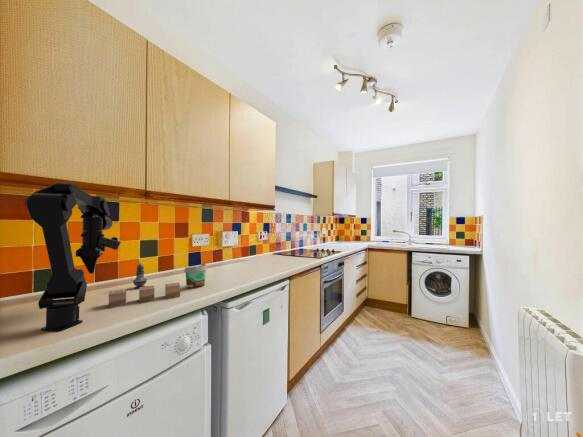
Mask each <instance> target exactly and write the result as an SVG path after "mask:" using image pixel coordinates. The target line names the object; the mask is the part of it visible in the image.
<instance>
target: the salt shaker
mask: <svg viewBox="0 0 583 437" xmlns="http://www.w3.org/2000/svg"><path fill="white" fill-rule="evenodd" d="M144 266H145V265H144V264H142V263H141V262H139V264H137V265H136V272H135V273H136V277H135V279H133V280H132V282H133V285H134V287H133V288H132V290H139V287H146V284H147V281H148V279H147V278H145V276H144V275H145V274H144V273H145V270H144Z"/></svg>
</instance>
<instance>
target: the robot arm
mask: <svg viewBox="0 0 583 437" xmlns="http://www.w3.org/2000/svg"><path fill="white" fill-rule="evenodd" d="M24 204H25V209H26V210H27V212H28V214H29V218H30V219H31V220H32V221H33V222H35V223H36V224H38V226H39V227H41V229H42V234H43V239H44V245H45V247H46V248H45V249H46V253H47V257H48V261H49V265H50V271H51V276H50V277H49V279H48V280H47V282H46V284H45V286H46V288H45V290H44V291H43V293H42V294H41V297H40V298H39V299H38V300H39V301H38V309H39V310H43V309H46V310H45V315H46V316H45V326H44V327H43V326H42V327H41V328H40V331H55V332H61V331H64V330H67V329H68V328H71V327H74V326H76V325H78V324H79V325H80V323H83V319H80V304H82V303H83V302H85V298H86V293H87V288H88V283H87V281H86V277H85V272H84V270H83V269H77V268H76V267H75V262H74V258H73V257H74V256H73V252H72V251H73V250H72V246H71V240H70V236H69V230H68V225H67V223H68V221H69V220H70V218H71V217H72V215H73V209H74V208H75V207H76V205H77V209H78V210H79V211H80V213H81V215H80V218H81V220H82V222H81V224H82V225H81V229H82V230H81V233H80V237H81V245H80V247H79V248H78V249H76V251H75V257H76V258H77V257H79V258H80V259H81V261H82V263H83V264H84V267H86V270H87V272H88V273H89V274H91V275H93V274H95V270H96V266H97V263H98V260H99V258H100V257H101V256H103V255H104V253H103V252H106V248H109V249H112V250H114V251H118V249H119V247H120V245H121V243H122V241H120V240H119V238H118V237H116V236H113V237H111V238H110V237H109V238H108V237H106V236H105V233H103V231H107V230H109V229H111V228H112V227H113V221H112V219H111V218H110V217H108V216H111V212H110V210H109V209H110V208H109V205H108V202H107V200H106V198H104V197H103V196H99V195H91V194H90V193H88V192H87V191H85V190H84V189H82V188H80V187H79V185H77V184H76V183H72V182H54V183H52V184H51V185H49V186H47V187H44V188H41V189H38V190H35V191H34V192H33V193H32V194H30V195H29V196H28V197H27V198H26V199H25V202H24Z"/></svg>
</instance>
